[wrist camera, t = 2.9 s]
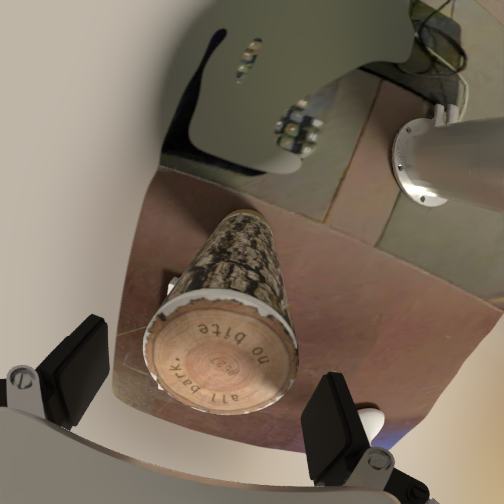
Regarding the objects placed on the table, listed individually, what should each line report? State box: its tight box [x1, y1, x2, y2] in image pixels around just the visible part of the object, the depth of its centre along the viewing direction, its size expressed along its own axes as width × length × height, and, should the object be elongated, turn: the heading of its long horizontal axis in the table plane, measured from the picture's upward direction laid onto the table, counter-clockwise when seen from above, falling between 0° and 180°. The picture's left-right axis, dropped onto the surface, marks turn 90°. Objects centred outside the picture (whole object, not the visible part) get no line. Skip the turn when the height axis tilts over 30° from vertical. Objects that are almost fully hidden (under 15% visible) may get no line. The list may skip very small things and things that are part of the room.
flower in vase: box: [357, 408, 384, 446], centre depth 33 cm, size 13×11×25 cm
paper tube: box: [143, 209, 299, 415], centre depth 23 cm, size 7×7×25 cm
